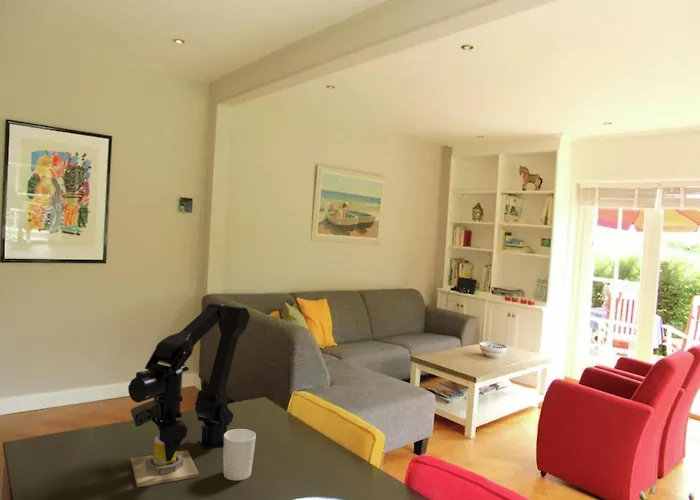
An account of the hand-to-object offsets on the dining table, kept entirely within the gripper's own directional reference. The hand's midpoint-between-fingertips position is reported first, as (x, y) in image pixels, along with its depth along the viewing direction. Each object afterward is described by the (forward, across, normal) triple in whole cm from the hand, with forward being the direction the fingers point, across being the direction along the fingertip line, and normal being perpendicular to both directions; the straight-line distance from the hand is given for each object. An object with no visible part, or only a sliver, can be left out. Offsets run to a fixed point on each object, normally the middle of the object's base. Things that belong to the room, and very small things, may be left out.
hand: (165, 453), depth 124 cm
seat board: (+4, 0, 0) cm, 4 cm away
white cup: (+4, +9, +16) cm, 19 cm away
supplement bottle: (+3, 0, 0) cm, 3 cm away
